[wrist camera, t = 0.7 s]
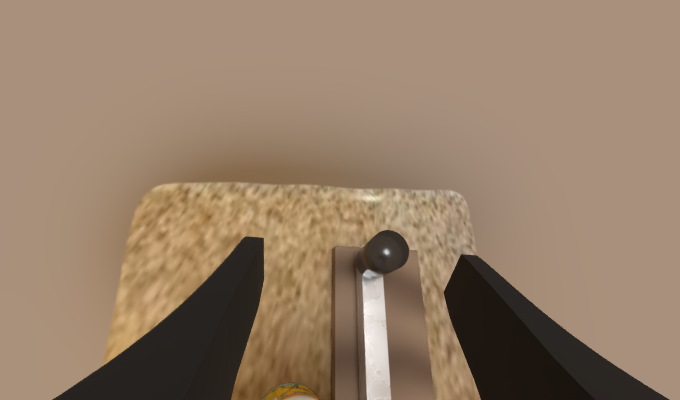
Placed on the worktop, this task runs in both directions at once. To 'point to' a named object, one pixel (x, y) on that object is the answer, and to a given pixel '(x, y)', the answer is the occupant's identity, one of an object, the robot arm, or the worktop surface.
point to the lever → (375, 310)
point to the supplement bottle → (291, 393)
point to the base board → (401, 323)
